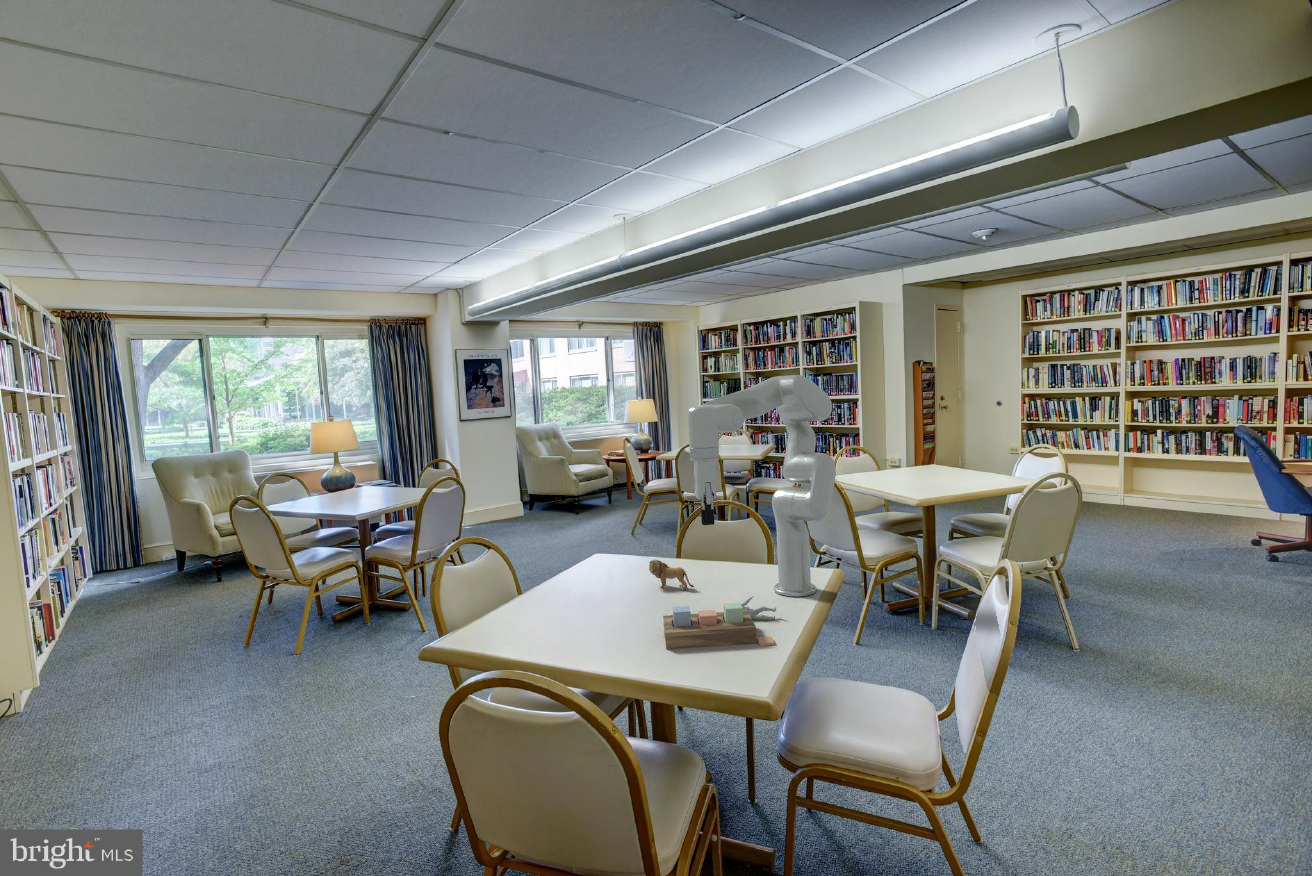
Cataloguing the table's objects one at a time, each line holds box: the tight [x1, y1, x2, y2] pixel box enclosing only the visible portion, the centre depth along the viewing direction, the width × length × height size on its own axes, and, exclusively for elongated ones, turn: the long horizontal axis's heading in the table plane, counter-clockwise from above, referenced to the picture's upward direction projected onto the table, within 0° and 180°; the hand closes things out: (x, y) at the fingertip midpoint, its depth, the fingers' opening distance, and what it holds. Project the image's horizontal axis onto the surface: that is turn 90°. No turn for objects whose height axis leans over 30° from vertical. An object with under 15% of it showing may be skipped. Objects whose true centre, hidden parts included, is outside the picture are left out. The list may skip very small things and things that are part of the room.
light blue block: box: [672, 605, 692, 627], centre depth 156 cm, size 4×4×6 cm
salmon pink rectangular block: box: [697, 609, 717, 625], centre depth 157 cm, size 4×4×6 cm
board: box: [662, 610, 758, 650], centre depth 157 cm, size 12×22×4 cm, turn 92°
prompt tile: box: [756, 636, 776, 647], centre depth 151 cm, size 4×4×1 cm
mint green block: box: [723, 602, 743, 624], centre depth 157 cm, size 4×4×6 cm
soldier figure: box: [740, 596, 777, 621], centre depth 167 cm, size 8×5×12 cm
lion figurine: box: [648, 559, 695, 591], centre depth 200 cm, size 15×5×9 cm, turn 73°
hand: (708, 524), depth 162 cm, fingers closed
